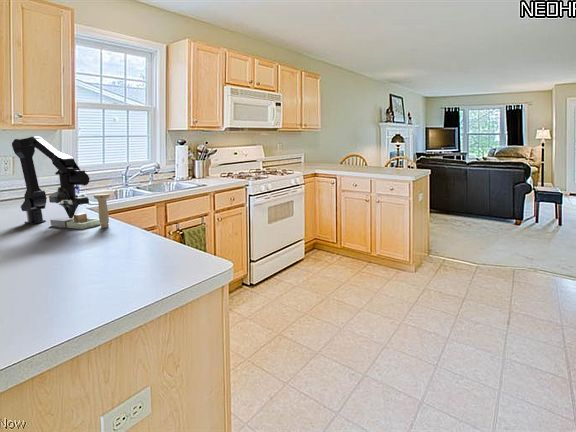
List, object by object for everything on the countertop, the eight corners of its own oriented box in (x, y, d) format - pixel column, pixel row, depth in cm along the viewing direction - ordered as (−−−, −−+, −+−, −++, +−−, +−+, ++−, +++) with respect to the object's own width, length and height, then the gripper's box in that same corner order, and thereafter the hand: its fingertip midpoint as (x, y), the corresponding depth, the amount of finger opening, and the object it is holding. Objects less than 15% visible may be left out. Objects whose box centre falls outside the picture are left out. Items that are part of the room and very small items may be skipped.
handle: (112, 227, 178) (109, 194, 175) (96, 228, 175) (93, 195, 172) (112, 225, 182) (109, 193, 179) (97, 226, 180) (94, 194, 177)
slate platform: (51, 226, 182) (50, 219, 181) (64, 223, 188) (63, 216, 188) (65, 227, 178) (64, 221, 178) (78, 224, 185) (77, 218, 184)
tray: (67, 227, 179) (66, 222, 178) (85, 223, 188) (85, 217, 187) (82, 229, 175) (82, 223, 175) (100, 224, 184) (100, 219, 184)
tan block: (73, 214, 179) (77, 215, 178) (82, 212, 184) (86, 213, 183) (74, 225, 180) (78, 226, 179) (83, 223, 185) (87, 223, 184)
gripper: (36, 185, 175) (40, 219, 178) (66, 187, 168) (70, 223, 171) (58, 183, 185) (62, 215, 188) (88, 184, 179) (91, 218, 182)
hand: (71, 218), depth 182 cm, fingers closed
